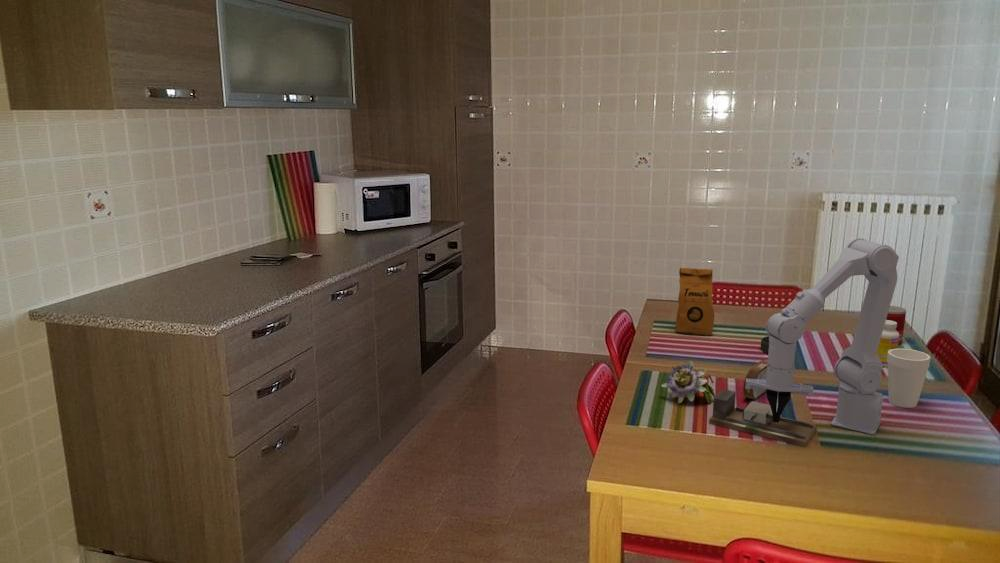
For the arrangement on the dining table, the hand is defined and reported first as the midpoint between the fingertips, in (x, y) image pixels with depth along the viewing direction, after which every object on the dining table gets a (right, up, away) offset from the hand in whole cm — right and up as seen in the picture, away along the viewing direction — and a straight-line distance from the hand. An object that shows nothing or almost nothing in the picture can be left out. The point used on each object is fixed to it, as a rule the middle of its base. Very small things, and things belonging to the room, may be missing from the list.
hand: (775, 420), depth 172 cm
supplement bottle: (+48, +8, +44) cm, 65 cm away
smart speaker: (+21, +11, +56) cm, 60 cm away
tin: (+3, +3, +22) cm, 23 cm away
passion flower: (-15, +2, +20) cm, 25 cm away
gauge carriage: (-4, -1, +2) cm, 5 cm away
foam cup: (+38, +1, +16) cm, 41 cm away
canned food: (+60, +13, +64) cm, 89 cm away
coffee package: (+1, +15, +75) cm, 77 cm away
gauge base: (-2, -2, +2) cm, 4 cm away
